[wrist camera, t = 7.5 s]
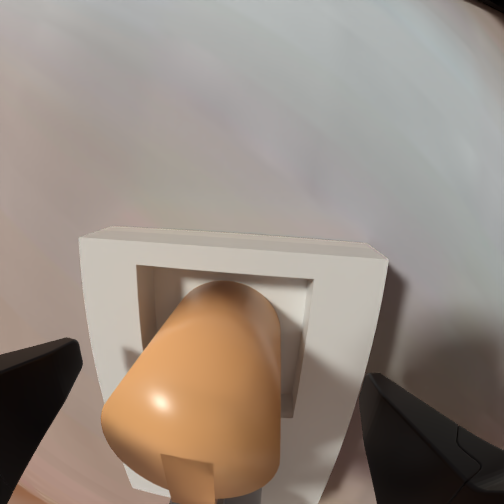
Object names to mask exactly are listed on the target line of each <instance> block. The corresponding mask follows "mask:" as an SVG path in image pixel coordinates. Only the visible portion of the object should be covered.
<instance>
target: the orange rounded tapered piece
mask: <svg viewBox="0 0 504 504" xmlns="http://www.w3.org/2000/svg"><path fill="white" fill-rule="evenodd" d="M101 425H102V429H103V433H104V436H105V438H106V440H107V442H108V444H109V445H110V447H111V449H112V450H113V451H114V453H115V454H116V455H117V456H118V457H119V458H120V460H121V461H122V462H123V463H125V464H126V465H127V466H128V467H129V468H130V469H131V470H133V471H134V472H135V473H137V474H138V475H140V476H141V477H143V478H144V479H146V480H148V481H150V482H151V483H153V484H155V485H158V486H160V487H162V488H164V489H167V490H169V493H170V496H171V500H172V502H175V503H179V504H217V500H218V499H224V498H233V497H239V496H243V495H246V494H249V493H252V492H254V491H256V490H258V489H260V488H262V487H263V486H265V485H266V484H267V483H268V482H269V481H270V480H271V479H272V478H273V477H274V476H275V474H276V472H277V470H278V468H279V465H280V439H281V329H280V322H279V318H278V316H277V313H276V311H275V309H274V308H273V306H272V305H271V303H270V302H269V301H268V300H267V299H266V298H265V297H264V296H263V295H262V294H261V293H259V292H258V291H257V290H255V289H253V288H251V287H249V286H247V285H244V284H242V283H238V282H234V281H212V282H208V283H205V284H202V285H200V286H198V287H196V288H194V289H193V290H191V291H190V292H189V293H188V294H187V295H186V296H185V297H184V298H183V299H182V301H181V302H180V303H179V305H178V306H177V307H176V309H175V310H174V311H173V312H172V314H171V315H170V316H169V318H168V319H167V320H166V322H165V323H164V324H163V326H162V327H161V328H160V330H159V331H158V332H157V334H156V335H155V336H154V338H153V339H152V340H151V342H150V343H149V344H148V346H147V347H146V348H145V350H144V351H143V352H142V354H141V355H140V356H139V358H138V359H137V360H136V362H135V363H134V364H133V366H132V367H131V368H130V370H129V371H128V372H127V374H126V375H125V377H124V378H123V379H122V381H121V382H120V383H119V385H118V386H117V387H116V389H115V390H114V392H113V393H112V394H111V396H110V397H109V398H108V400H107V401H106V403H105V404H104V407H103V410H102V414H101Z"/></svg>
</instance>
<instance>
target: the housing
mask: <svg viewBox="0 0 504 504" xmlns="http://www.w3.org/2000/svg"><path fill="white" fill-rule="evenodd" d="M79 252H80V265H81V276H82V286H83V294H84V302H85V310H86V317H87V323H88V329H89V335H90V341H91V346H92V352H93V357H94V362H95V366H96V371H97V375H98V380H99V384H100V388H101V392H102V396H103V400H104V404H105V403H106V401H107V400H108V398H109V397H110V396H111V394H112V393H113V392H114V390H115V389H116V387H117V386H118V385H119V383H120V382H121V381H122V379H123V378H124V377H125V375H126V374H127V372H128V371H129V370H130V368H131V367H132V366H133V364H134V363H135V362H136V360H137V359H138V358H139V356H140V355H141V354H142V352H143V351H144V350H145V348H146V347H147V346H148V344H149V343H150V342H151V340H152V339H153V338H154V336H155V335H156V334H157V332H158V331H159V330H160V328H161V327H162V326H163V324H164V323H165V322H166V320H167V319H168V318H169V316H170V315H171V314H172V312H173V311H174V310H175V309H176V307H177V306H178V305H179V303H180V302H181V301H182V299H183V298H184V297H185V296H186V295H187V294H188V293H189V292H190V291H191V290H193V289H194V288H196V287H198V286H200V285H202V284H205V283H208V282H212V281H234V282H238V283H242V284H244V285H247V286H249V287H251V288H253V289H255V290H257V291H258V292H259V293H261V294H262V295H263V296H264V297H265V298H266V299H267V300H268V301H269V302H270V303H271V305H272V306H273V308H274V309H275V311H276V313H277V316H278V318H279V322H280V329H281V439H280V465H279V468H278V470H277V472H276V474H275V476H274V477H273V478H272V479H271V480H270V481H269V482H268V483H267V484H266V485H265V486H263V487H262V488H260V489H258V490H256V491H254V492H252V493H249V494H246V495H243V496H239V497H233V498H224V499H218V500H217V504H318V502H319V500H320V498H321V495H322V493H323V491H324V488H325V486H326V484H327V481H328V479H329V477H330V474H331V472H332V469H333V467H334V464H335V462H336V459H337V457H338V454H339V451H340V449H341V446H342V443H343V440H344V438H345V435H346V432H347V429H348V426H349V423H350V420H351V417H352V414H353V411H354V408H355V405H356V401H357V398H358V395H359V392H360V388H361V385H362V381H363V378H364V374H365V370H366V367H367V363H368V359H369V355H370V351H371V347H372V343H373V339H374V335H375V330H376V326H377V321H378V317H379V312H380V307H381V302H382V297H383V291H384V286H385V280H386V275H387V268H388V262H389V259H387V258H386V257H385V256H383V255H382V254H381V253H379V252H378V251H377V250H375V249H374V248H373V247H371V246H370V245H369V244H367V243H359V242H347V241H334V240H322V239H309V238H296V237H282V236H268V235H254V234H240V233H225V232H209V231H193V230H176V229H159V228H141V227H122V226H111V227H108V228H105V229H102V230H99V231H96V232H93V233H90V234H87V235H84V236H81V237H79ZM123 464H124V467H125V470H126V472H127V475H128V477H129V480H130V483H131V485H132V488H135V489H139V490H142V491H146V492H150V493H153V494H157V495H161V496H166V497H170V498H171V496H170V493H169V490H167V489H164V488H162V487H160V486H158V485H155V484H153V483H151V482H150V481H148V480H146V479H144V478H143V477H141V476H140V475H138V474H137V473H135V472H134V471H133V470H131V469H130V468H129V467H128V466H127V465H126V464H125V463H123ZM169 504H179V503H175V502H172V500H170V503H169Z"/></svg>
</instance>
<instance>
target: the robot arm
mask: <svg viewBox="0 0 504 504" xmlns="http://www.w3.org/2000/svg"><path fill="white" fill-rule="evenodd" d="M479 1H482V2H484V3H485V4H487V5H489V6H491V7H493V8H495V9H497V10H499V11H501V12H502V13H504V0H479ZM82 365H83V360H82V356H81V351H80V346H79V343H78V341H77V340H75V339H71V338H63V339H59V340H55V341H51V342H48V343H44V344H40V345H36V346H33V347H29V348H25V349H21V350H17V351H13V352H9V353H5V354H1V355H0V504H7V503H8V501H9V499H10V497H11V495H12V493H13V491H14V489H15V487H16V485H17V483H18V482H19V480H20V478H21V476H22V474H23V472H24V470H25V469H26V467H27V465H28V463H29V461H30V460H31V458H32V456H33V454H34V453H35V451H36V449H37V447H38V446H39V444H40V442H41V440H42V439H43V437H44V435H45V434H46V432H47V430H48V429H49V427H50V425H51V424H52V422H53V420H54V419H55V417H56V415H57V414H58V412H59V411H60V409H61V407H62V406H63V404H64V402H65V401H66V399H67V397H68V395H69V393H70V391H71V389H72V387H73V385H74V382H75V380H76V378H77V376H78V375H79V373H80V371H81V369H82ZM359 405H360V413H361V422H362V431H363V440H364V446H365V451H366V455H367V459H368V464H369V468H370V473H371V477H372V482H373V487H374V491H375V496H376V501H377V504H504V450H502V449H500V448H498V447H496V446H494V445H492V444H490V443H488V442H486V441H484V440H482V439H480V438H479V437H477V436H475V435H474V434H472V433H470V432H469V431H467V430H466V429H464V428H463V427H461V426H458V424H456V423H455V422H453V421H452V420H450V419H448V418H447V417H445V416H444V415H442V414H441V413H439V412H438V411H436V410H435V409H433V408H432V407H430V406H429V405H427V404H426V403H424V402H423V401H421V400H419V399H418V398H416V397H415V396H413V395H412V394H410V393H409V392H407V391H406V390H404V389H403V388H401V387H400V386H398V385H397V384H396V383H394V382H393V381H391V380H390V379H388V378H387V377H385V376H384V375H382V374H381V373H368V374H367V375H366V376H365V379H364V382H363V386H362V389H361V392H360V396H359Z"/></svg>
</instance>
